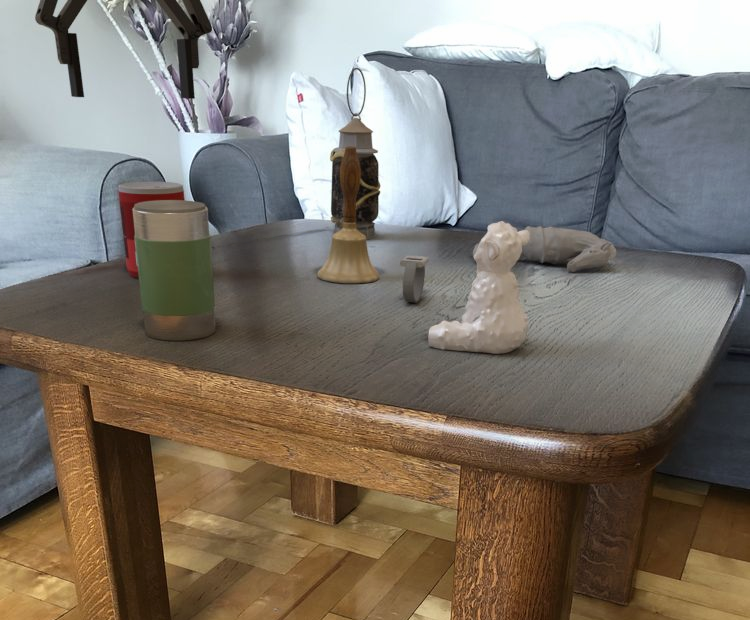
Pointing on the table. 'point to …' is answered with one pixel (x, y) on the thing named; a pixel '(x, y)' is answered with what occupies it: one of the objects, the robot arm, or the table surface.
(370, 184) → the lantern
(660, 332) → the table surface
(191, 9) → the robot arm
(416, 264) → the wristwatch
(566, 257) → the seahorse
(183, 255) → the tin can
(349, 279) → the hand bell
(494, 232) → the seated beast figurine
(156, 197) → the canned food
